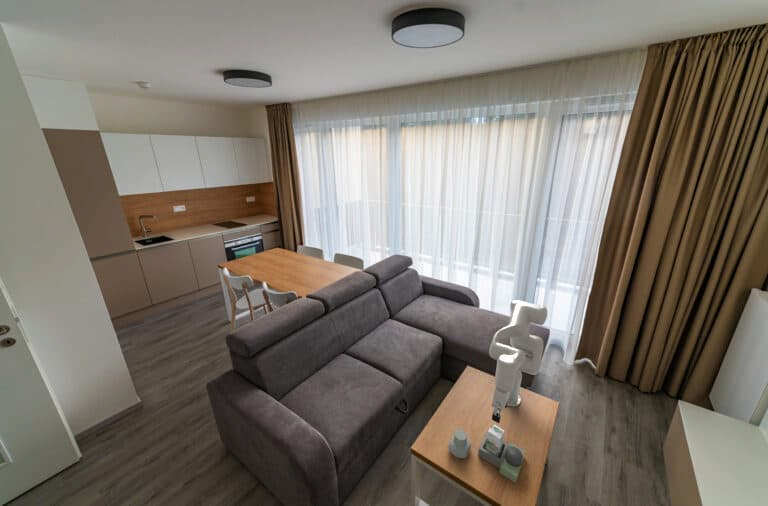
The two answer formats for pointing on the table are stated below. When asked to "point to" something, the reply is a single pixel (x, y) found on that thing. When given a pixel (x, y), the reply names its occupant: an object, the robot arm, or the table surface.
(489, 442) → the syrup box
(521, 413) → the table surface
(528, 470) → the table surface
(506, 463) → the grey square sleeve
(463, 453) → the air freshener
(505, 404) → the robot arm
